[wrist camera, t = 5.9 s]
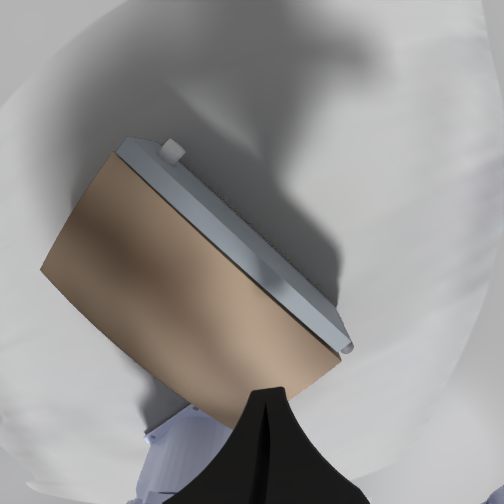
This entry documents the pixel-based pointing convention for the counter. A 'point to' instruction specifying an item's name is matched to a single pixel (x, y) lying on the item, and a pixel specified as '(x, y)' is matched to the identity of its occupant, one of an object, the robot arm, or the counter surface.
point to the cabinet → (178, 299)
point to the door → (234, 236)
